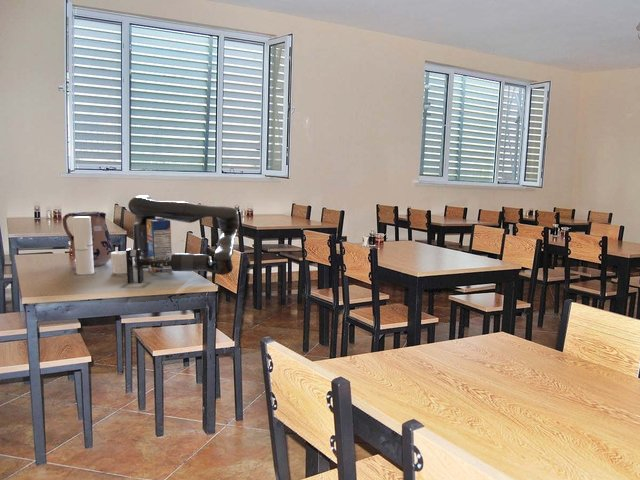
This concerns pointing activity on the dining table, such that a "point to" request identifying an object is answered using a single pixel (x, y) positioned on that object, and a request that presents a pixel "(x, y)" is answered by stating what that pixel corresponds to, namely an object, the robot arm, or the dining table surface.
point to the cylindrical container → (83, 245)
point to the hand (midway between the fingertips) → (142, 262)
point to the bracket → (130, 266)
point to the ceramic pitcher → (94, 236)
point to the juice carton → (159, 241)
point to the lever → (133, 254)
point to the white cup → (119, 262)
